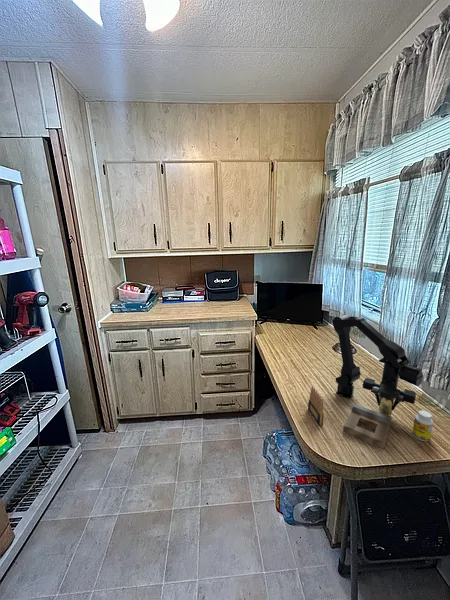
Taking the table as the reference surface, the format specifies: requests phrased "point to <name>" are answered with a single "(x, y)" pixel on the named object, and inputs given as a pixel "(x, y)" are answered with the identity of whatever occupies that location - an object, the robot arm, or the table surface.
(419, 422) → the supplement bottle
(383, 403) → the cylinder
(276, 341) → the table surface
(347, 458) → the table surface
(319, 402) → the tan upright panel
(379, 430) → the jig
